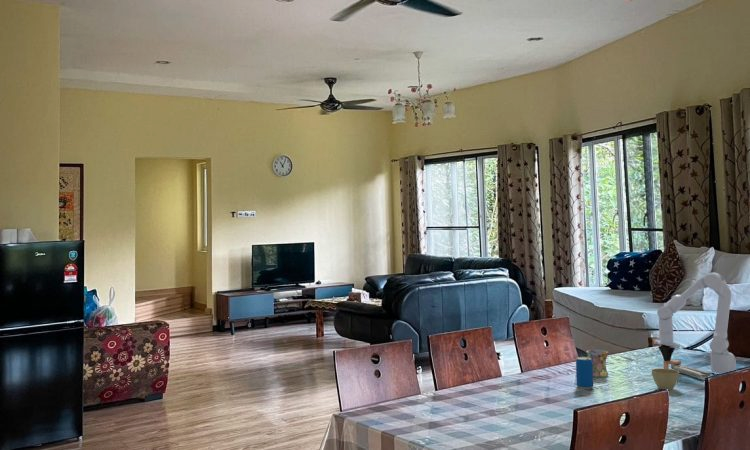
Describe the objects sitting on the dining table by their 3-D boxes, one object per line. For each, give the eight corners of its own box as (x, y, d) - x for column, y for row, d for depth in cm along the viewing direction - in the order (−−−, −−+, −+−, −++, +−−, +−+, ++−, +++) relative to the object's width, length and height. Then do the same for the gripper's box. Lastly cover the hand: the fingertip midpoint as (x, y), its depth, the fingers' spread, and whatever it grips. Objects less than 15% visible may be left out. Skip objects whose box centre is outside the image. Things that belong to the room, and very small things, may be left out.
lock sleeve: (677, 368, 279) (676, 360, 279) (680, 369, 276) (680, 361, 276) (663, 369, 277) (663, 361, 277) (667, 370, 274) (667, 362, 275)
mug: (596, 372, 275) (595, 349, 276) (613, 376, 267) (613, 352, 268) (578, 376, 269) (577, 352, 270) (595, 380, 261) (594, 355, 262)
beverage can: (594, 389, 245) (593, 359, 245) (577, 389, 246) (576, 359, 247) (592, 385, 252) (591, 356, 252) (575, 385, 253) (574, 356, 253)
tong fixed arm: (674, 368, 279) (674, 363, 279) (710, 378, 258) (710, 372, 258) (666, 369, 277) (666, 364, 278) (701, 379, 257) (701, 373, 257)
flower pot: (676, 393, 236) (676, 374, 236) (649, 390, 242) (648, 371, 243) (682, 387, 244) (681, 369, 244) (655, 384, 250) (654, 367, 250)
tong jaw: (675, 371, 271) (675, 367, 271) (681, 371, 271) (680, 366, 271) (700, 379, 255) (700, 374, 255) (706, 379, 255) (706, 374, 255)
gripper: (647, 330, 286) (649, 359, 286) (669, 335, 272) (671, 365, 272) (660, 329, 288) (661, 358, 287) (683, 334, 274) (684, 364, 273)
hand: (667, 362), depth 280 cm, fingers closed
